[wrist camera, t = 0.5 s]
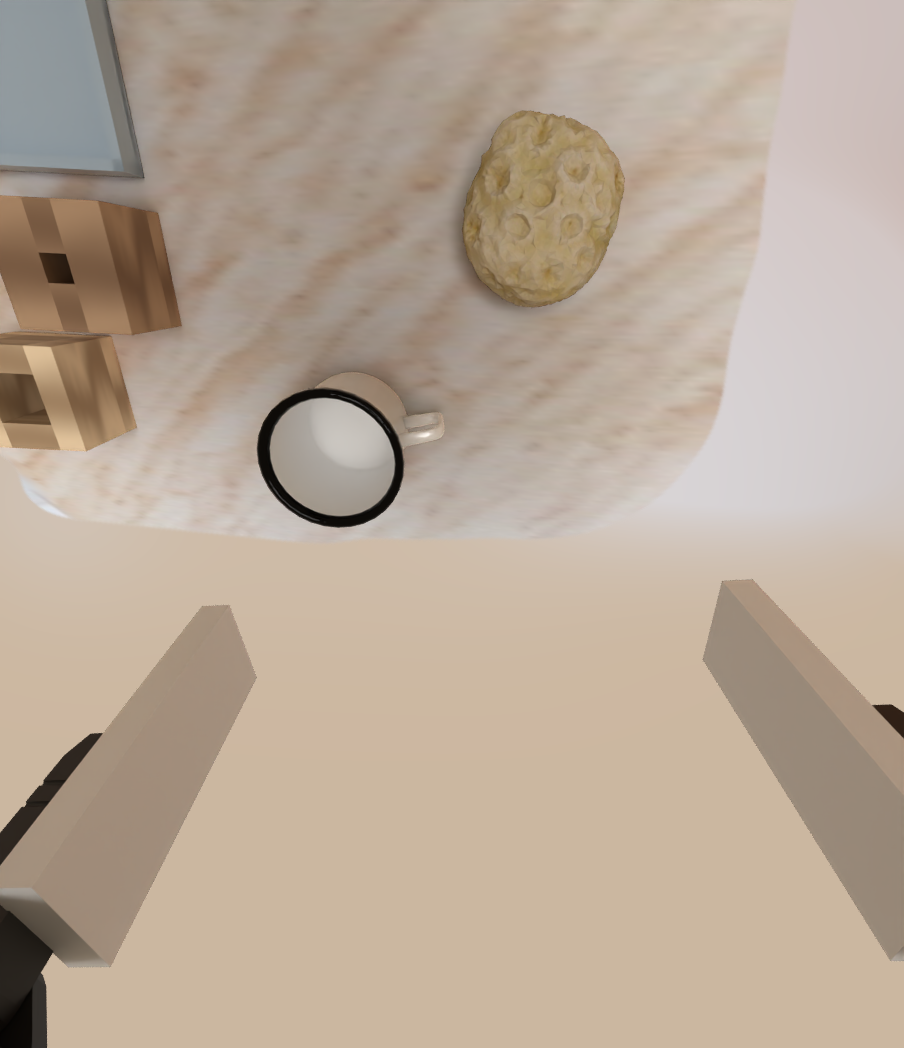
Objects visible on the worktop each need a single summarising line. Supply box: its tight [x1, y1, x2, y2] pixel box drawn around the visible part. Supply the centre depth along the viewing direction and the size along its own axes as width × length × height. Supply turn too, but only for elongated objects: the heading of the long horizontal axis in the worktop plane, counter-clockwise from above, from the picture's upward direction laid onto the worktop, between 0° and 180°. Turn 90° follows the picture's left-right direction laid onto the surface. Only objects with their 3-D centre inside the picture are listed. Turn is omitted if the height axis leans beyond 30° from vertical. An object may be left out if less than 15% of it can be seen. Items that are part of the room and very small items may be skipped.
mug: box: [257, 372, 445, 528], centre depth 34 cm, size 12×10×9 cm
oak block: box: [0, 332, 137, 451], centre depth 34 cm, size 7×7×6 cm
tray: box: [0, 0, 144, 178], centre depth 27 cm, size 11×11×2 cm
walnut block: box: [0, 195, 182, 335], centre depth 30 cm, size 7×7×6 cm
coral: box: [462, 111, 625, 308], centre depth 28 cm, size 9×9×8 cm
